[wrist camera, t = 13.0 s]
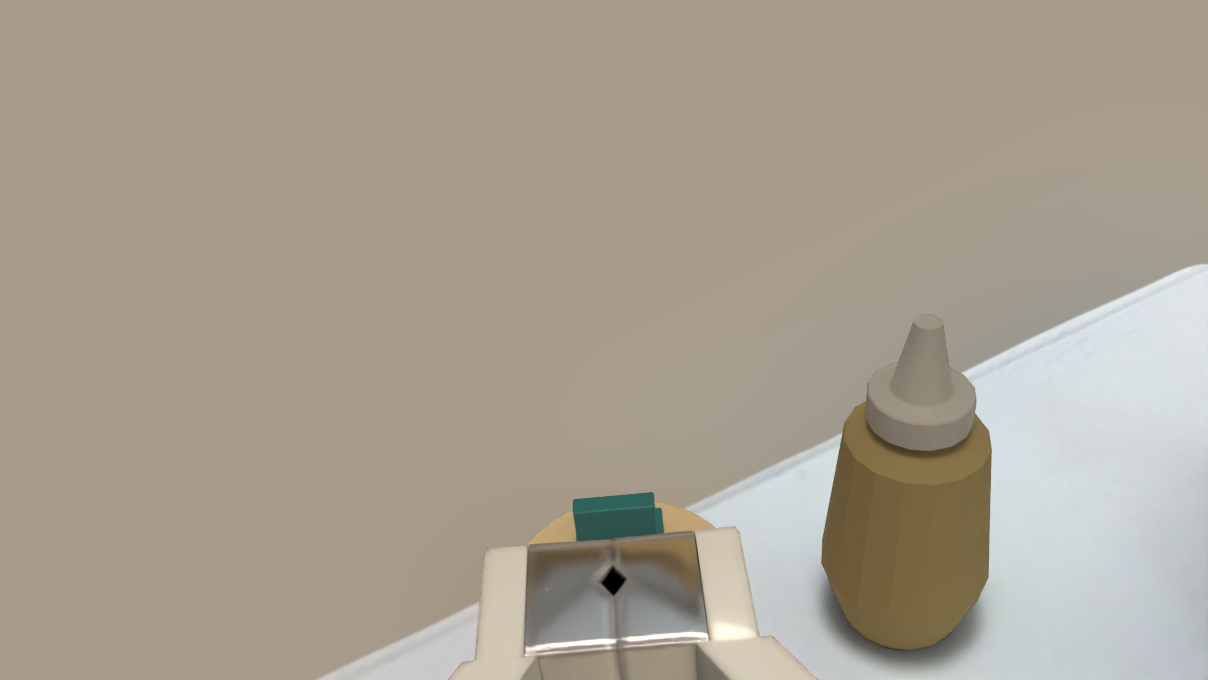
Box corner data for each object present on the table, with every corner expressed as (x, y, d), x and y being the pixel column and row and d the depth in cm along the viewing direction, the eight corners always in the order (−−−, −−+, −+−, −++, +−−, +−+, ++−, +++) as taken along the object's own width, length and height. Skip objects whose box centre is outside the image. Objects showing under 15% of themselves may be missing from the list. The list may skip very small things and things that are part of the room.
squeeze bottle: (836, 534, 58) (851, 260, 47) (988, 568, 55) (1039, 284, 44) (802, 646, 52) (810, 361, 41) (969, 691, 49) (1023, 396, 38)
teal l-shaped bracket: (576, 521, 43) (564, 442, 40) (661, 513, 43) (655, 434, 40) (577, 595, 40) (564, 514, 37) (670, 587, 40) (663, 505, 37)
